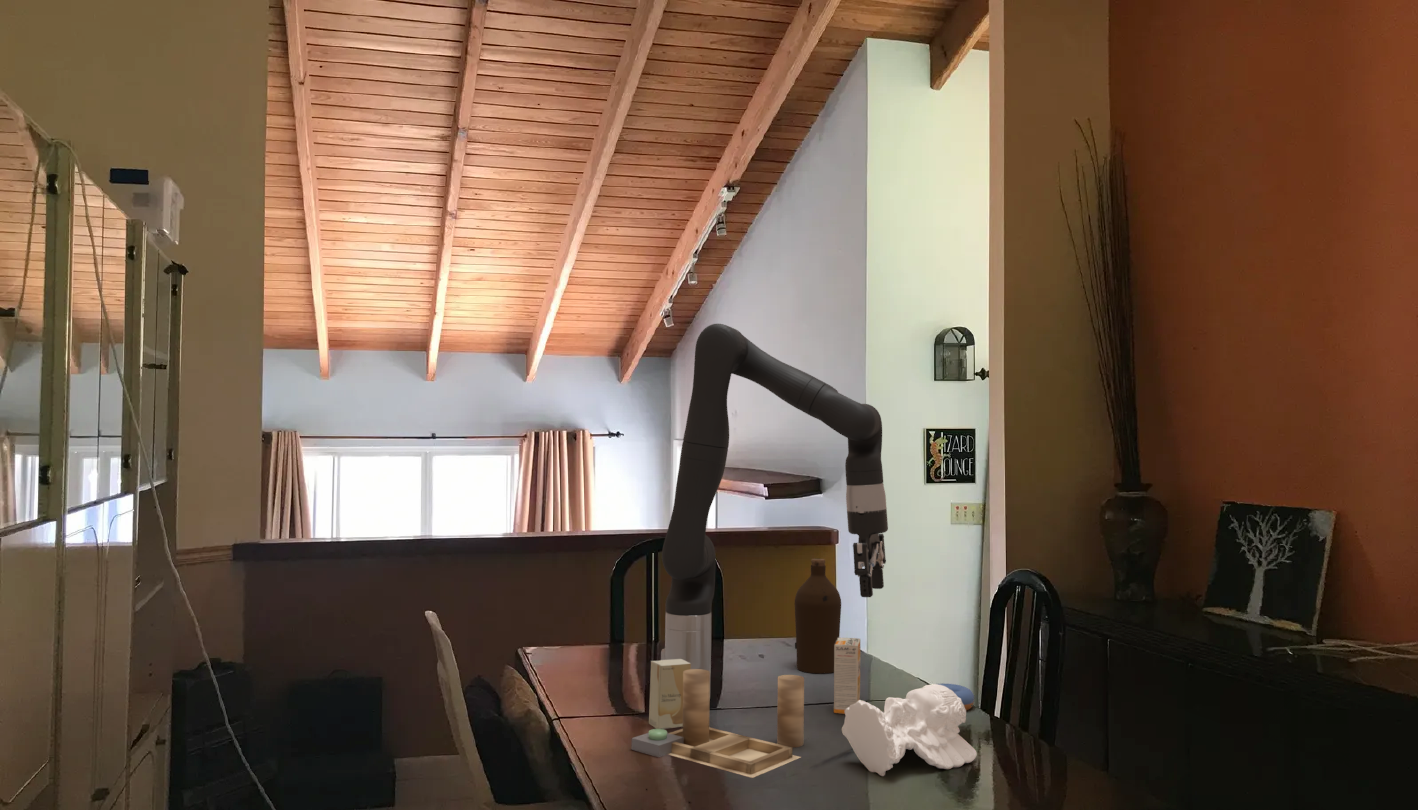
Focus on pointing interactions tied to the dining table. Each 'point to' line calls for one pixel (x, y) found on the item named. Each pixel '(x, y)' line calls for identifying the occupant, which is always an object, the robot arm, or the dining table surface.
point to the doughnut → (962, 694)
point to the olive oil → (817, 621)
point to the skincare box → (667, 693)
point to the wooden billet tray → (735, 753)
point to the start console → (655, 742)
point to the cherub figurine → (909, 729)
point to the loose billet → (790, 711)
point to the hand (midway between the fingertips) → (872, 592)
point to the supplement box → (846, 673)
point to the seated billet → (696, 706)
